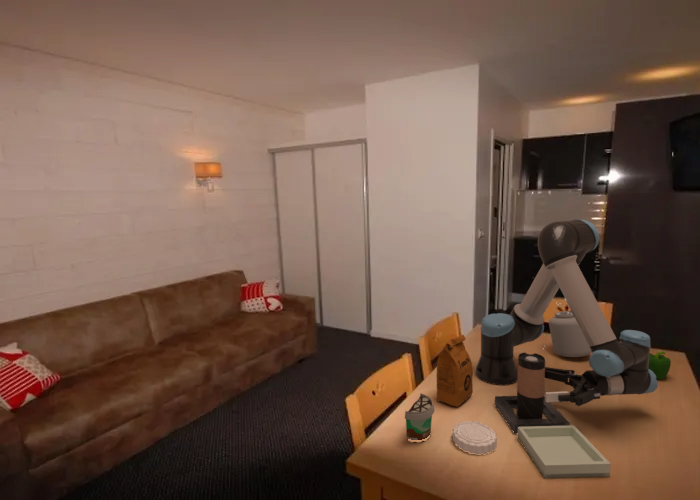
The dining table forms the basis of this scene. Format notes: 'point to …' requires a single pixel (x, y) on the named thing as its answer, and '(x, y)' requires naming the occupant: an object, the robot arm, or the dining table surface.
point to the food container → (419, 418)
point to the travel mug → (530, 386)
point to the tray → (563, 452)
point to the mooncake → (474, 437)
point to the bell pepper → (659, 364)
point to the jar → (567, 336)
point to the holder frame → (514, 422)
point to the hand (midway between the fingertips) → (533, 386)
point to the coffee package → (454, 373)
